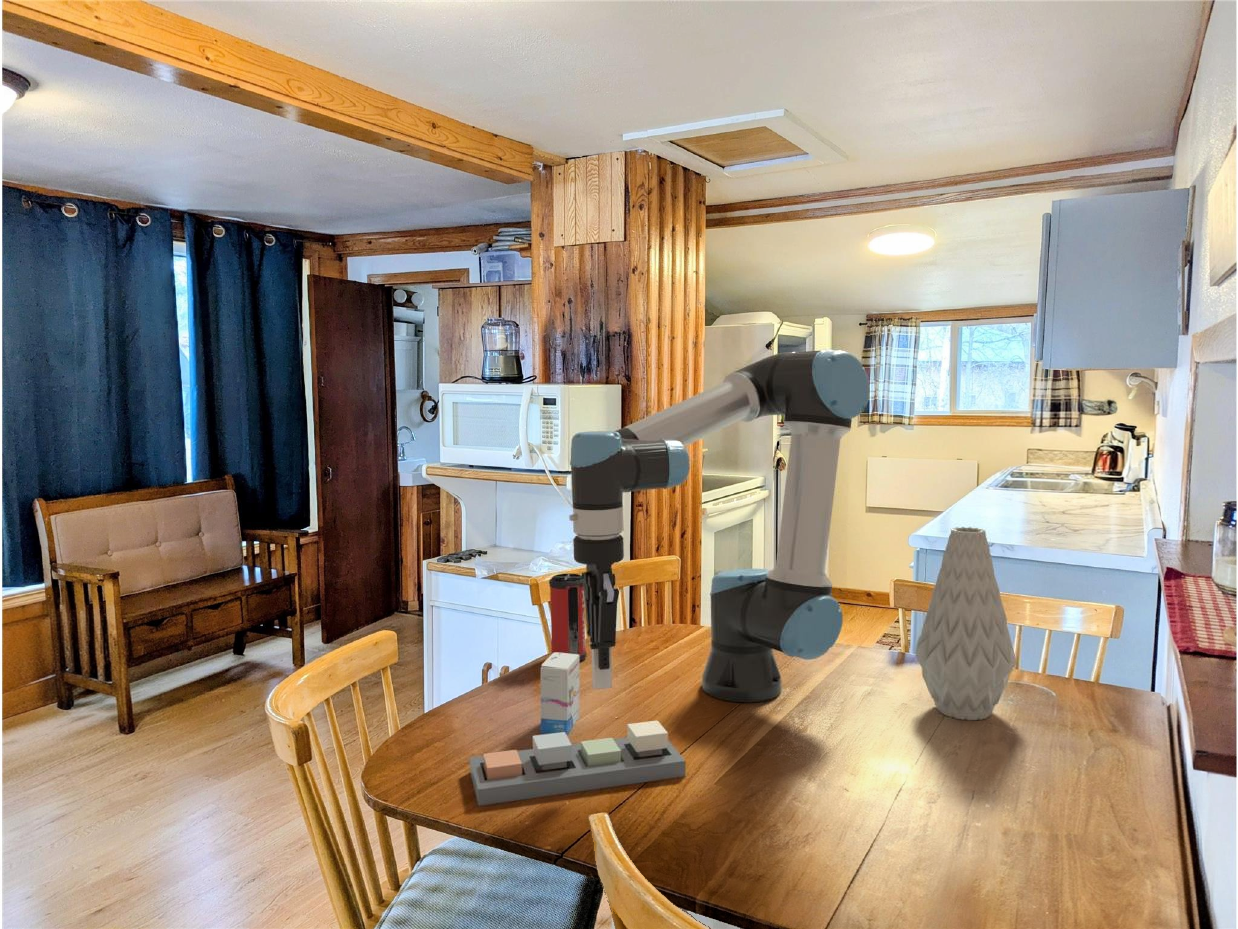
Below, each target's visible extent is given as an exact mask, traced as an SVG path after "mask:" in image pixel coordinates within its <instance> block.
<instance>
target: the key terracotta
mask: <svg viewBox="0 0 1238 929" xmlns="http://www.w3.org/2000/svg"><path fill="white" fill-rule="evenodd" d="M517 751H518V749H510V750H503V751H497V752H487V753H486V752H485V753H483V754H482V755H483V759H484V772H485V775H486V777H485V778H486V780H492V779H499V778H507V777H514V776H522V763H521V760H520V758H519V755H518V752H517Z"/></svg>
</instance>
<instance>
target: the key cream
mask: <svg viewBox="0 0 1238 929" xmlns="http://www.w3.org/2000/svg"><path fill="white" fill-rule="evenodd" d="M626 727H627V728H626V733H627V736H626V737H627V739H628V741H629V742H630V743H631V745H632V746H633V748H634V750H635V751H636V753H637V754H638V755H639V757H638V758H644V757H651V756H658V755H660V754H662V749H663V748H668V740H669V733H668V731H667V730H666V729H665V727H664V726H663V725H662V723H660V722H659V720H652V721H651V720H650V721H643V722H642V721H641V722H635V723H627V725H626Z"/></svg>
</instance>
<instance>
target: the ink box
mask: <svg viewBox="0 0 1238 929" xmlns="http://www.w3.org/2000/svg"><path fill="white" fill-rule="evenodd" d="M579 718H580V661H579V655H578V654H568V653H558V652H555V653H553V654H552V655H551V654H550V656H549V657H547V658H546V659H545V661H544V662H542V664H541V667H540V735H544V734H552V733H560V732H565V733H566V735H567V736H568V735H569V733H570V732H571V731H572V728H573V727H574V725H575V724H576V722H577V721H578V719H579Z"/></svg>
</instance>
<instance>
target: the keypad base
mask: <svg viewBox="0 0 1238 929" xmlns="http://www.w3.org/2000/svg"><path fill="white" fill-rule="evenodd" d="M613 740H614V741H615V743H616V744H617V746H618V747H619V749H620V750H621V762H617V763H610V764H603V765H595V766H588V767H587V766H586V765H585V763H584V761H583V759H582V757H581V742H578V743H571V744H572V761H567V769H560V770H553V771H545V772H539V773H538V772H536V771H544V770H543V769H542V767H541V765H539V764H538V762H537V760H536V757H535V755H534V753H533V748H529V749H523V750H521V749H520V750H517V752H518V755H519V758H520V760H521V763H522V776H514V777H507V778H499V779H492V780H487V779H486V780H485V778H486V775H485V772H484V759H483V754H482V755H475V756H474V755H473V756H469V767H470V768H469V772H470V777H471V781H472V785H473V789H474V792H475V797H476V802H477V806H478V807H479V806H487V805H494V804H500V803H508V802H514V801H521V800H522V801H523V800H529V799H530V800H531V799H535V798H543V797H550V796H556V795H557V796H558V795H564V794H571V793H576V792H577V793H578V792H584V791H591V790H599V789H605V788H612V787H619V786H620V787H621V786H626V785H634V784H640V783H641V784H642V783H647V782H654V781H661V780H668V779H676V778H683V777H686V760H685V758H684V757H683V756H682V755H681V754H680V752H679V751H678V750H677V749H676V748H675V747H674V745H673V744H672V742H671V741H670V740H669V739H668V748H663V749H662V754H659V755H660V756H657V757H654V756H653V757H649V758H640V757H639V755H638V754H637V753H636V751H635V750H634V748H633V746H632V745H631V743H630V742H629V741H628V739H627V736H625V737H616V738H613ZM634 758H640V759H634Z"/></svg>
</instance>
